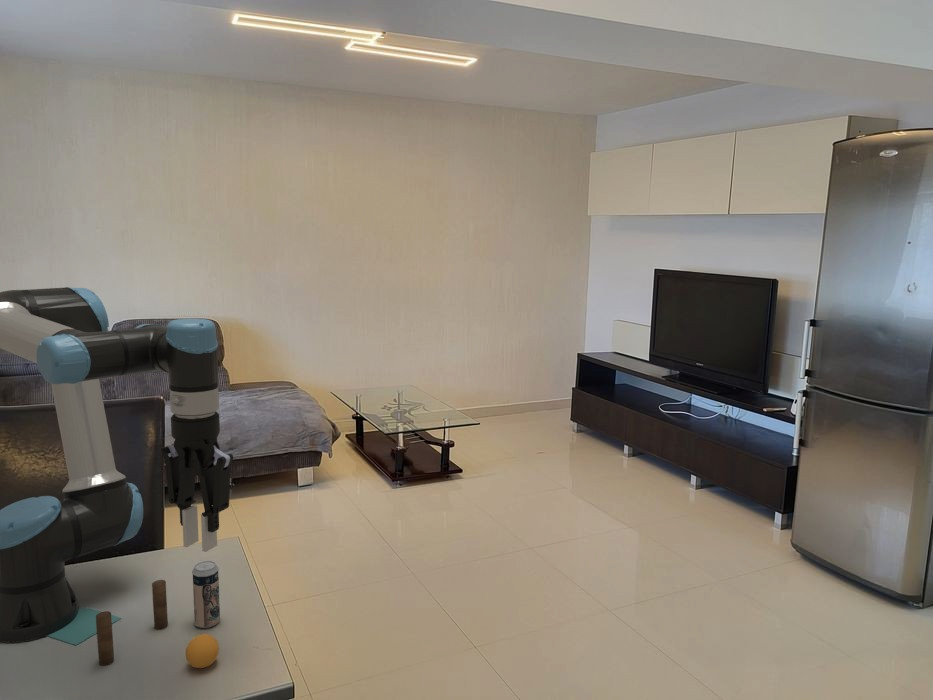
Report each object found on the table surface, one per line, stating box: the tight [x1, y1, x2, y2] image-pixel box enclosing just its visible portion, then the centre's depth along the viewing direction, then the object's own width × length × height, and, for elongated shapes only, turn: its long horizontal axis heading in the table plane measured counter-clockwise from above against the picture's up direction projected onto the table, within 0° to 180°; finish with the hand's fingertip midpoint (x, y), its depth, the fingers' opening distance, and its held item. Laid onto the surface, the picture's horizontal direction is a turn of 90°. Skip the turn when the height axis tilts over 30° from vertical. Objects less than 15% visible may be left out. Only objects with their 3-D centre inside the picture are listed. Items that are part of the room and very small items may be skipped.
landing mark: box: [46, 606, 122, 647], centre depth 134 cm, size 10×10×1 cm
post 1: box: [96, 610, 115, 667], centre depth 122 cm, size 2×2×9 cm
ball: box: [185, 633, 220, 669], centre depth 122 cm, size 6×6×6 cm
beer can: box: [191, 560, 221, 629], centre depth 135 cm, size 5×5×12 cm
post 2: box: [151, 579, 169, 631], centre depth 134 cm, size 2×2×9 cm
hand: (200, 545), depth 119 cm, fingers open, 3 cm apart
